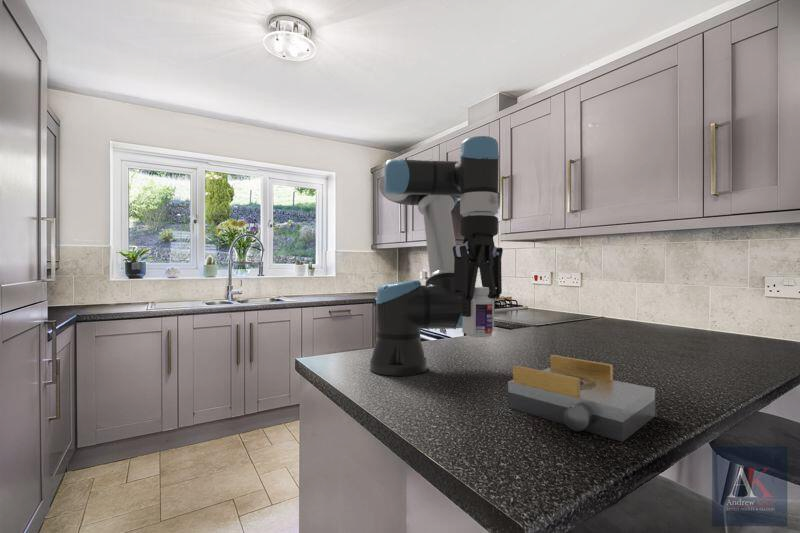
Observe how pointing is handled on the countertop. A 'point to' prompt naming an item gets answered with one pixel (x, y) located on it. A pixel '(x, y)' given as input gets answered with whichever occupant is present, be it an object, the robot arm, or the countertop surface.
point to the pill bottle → (482, 313)
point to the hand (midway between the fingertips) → (478, 331)
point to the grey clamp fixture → (582, 397)
